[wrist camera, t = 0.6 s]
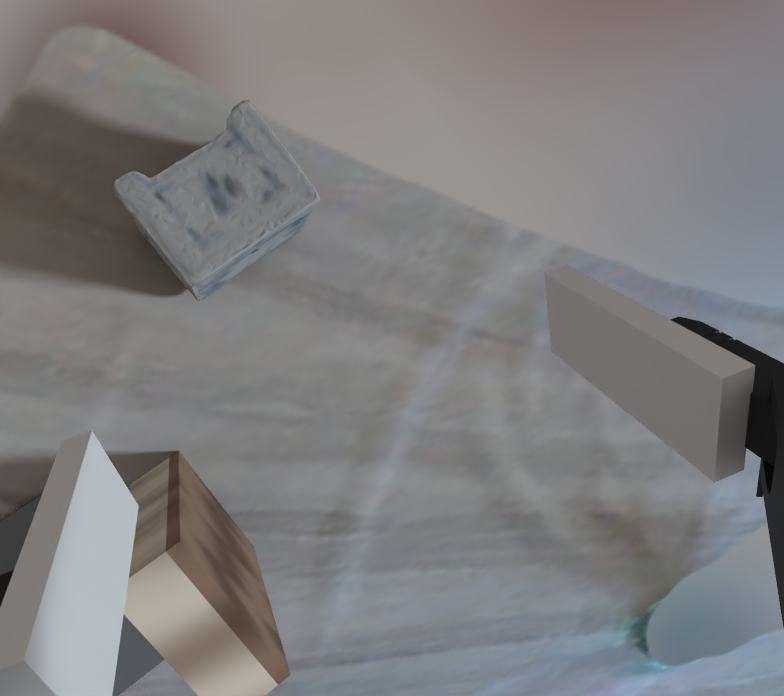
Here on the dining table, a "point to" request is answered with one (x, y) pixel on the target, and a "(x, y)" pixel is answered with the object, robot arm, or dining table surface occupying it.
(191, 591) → the birch plank
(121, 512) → the robot arm
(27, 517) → the mat
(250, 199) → the incense holder
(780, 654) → the dining table surface
